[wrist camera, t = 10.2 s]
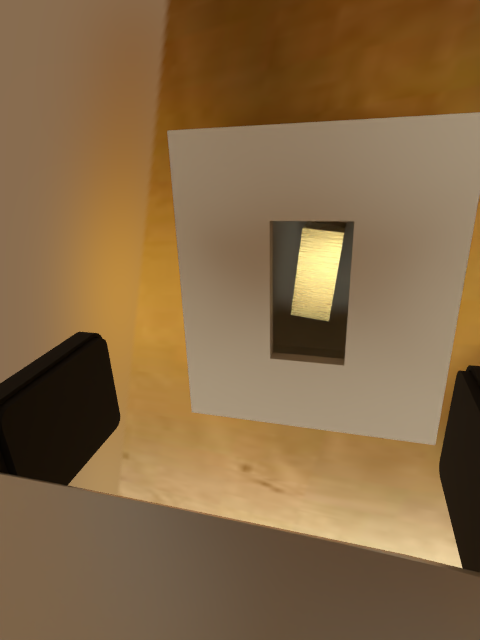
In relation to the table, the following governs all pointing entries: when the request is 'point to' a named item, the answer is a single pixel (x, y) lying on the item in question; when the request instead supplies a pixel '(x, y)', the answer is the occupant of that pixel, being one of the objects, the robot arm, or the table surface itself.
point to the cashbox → (353, 272)
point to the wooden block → (317, 268)
